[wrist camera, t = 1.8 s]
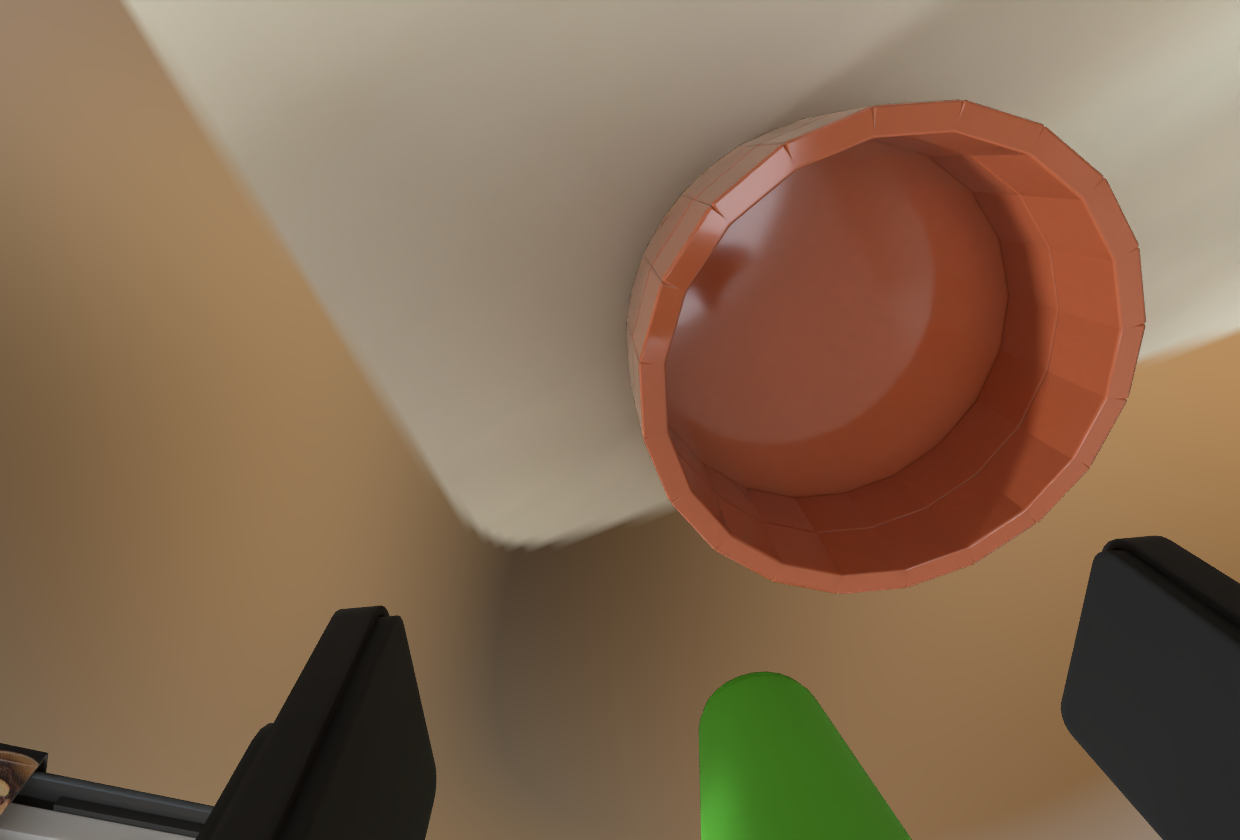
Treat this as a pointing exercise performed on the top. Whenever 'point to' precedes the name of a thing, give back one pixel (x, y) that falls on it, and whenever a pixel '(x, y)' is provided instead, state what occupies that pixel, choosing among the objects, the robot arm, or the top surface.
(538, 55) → the top surface
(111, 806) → the cake box
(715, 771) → the cup
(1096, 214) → the bowl
